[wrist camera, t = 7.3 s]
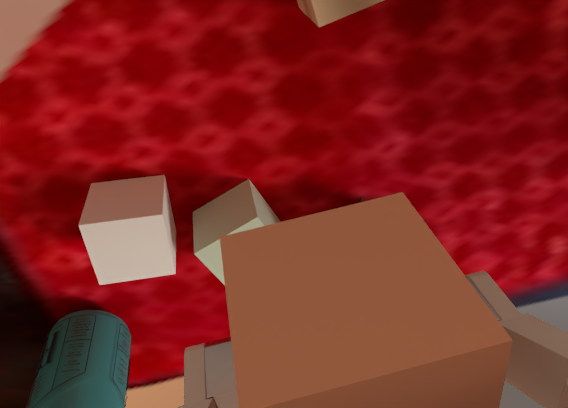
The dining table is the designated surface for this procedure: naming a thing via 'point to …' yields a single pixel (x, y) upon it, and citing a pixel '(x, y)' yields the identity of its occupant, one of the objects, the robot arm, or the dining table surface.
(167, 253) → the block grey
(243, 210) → the block sage
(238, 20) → the dining table surface
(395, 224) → the block terracotta
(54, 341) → the beverage bottle
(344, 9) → the block oak
